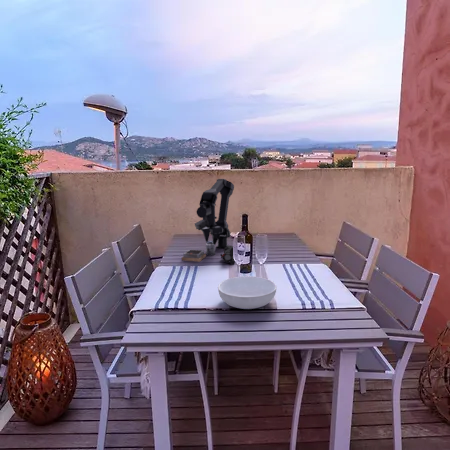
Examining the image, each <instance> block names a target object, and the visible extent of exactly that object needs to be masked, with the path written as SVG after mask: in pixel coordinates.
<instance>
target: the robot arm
mask: <svg viewBox="0 0 450 450" xmlns="http://www.w3.org/2000/svg"><path fill="white" fill-rule="evenodd" d="M234 189H235V185H234V184H233V183H232V181H230V180H227V179H226V178H218V179H216V182H215V183H214V184H213V185H212V186H211V187H210V188H209V189H205V190H204V191H203V192H202V194H201V196H200V200H199V207H198V208H197V209H196V215H197V216H198V218H202V219H201V220H199V221H197V222H195V223H194V226H195V230H198V231H201V232H202V234H203V237H204V240H205V242H206V241H209V239H210V235H211V238H212V241H213V244H214V245H215V249H216V248H218V249H219V248H220V249H225V248H226V247H227V246H230V245H229V244H228V239H229V238H231V234H232V233H231V231H230V229H229V224H228V222H227V217H228V212H229V211H228V210H229V202H230V198H231V196H232V195H233V193H234ZM219 193H220V197H221V198H220V204H219V212H218V217H217V216H216V205H217V204H216V203H217V200H218V194H219ZM216 219H217V221H216ZM216 244H217V245H216Z"/></svg>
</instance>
